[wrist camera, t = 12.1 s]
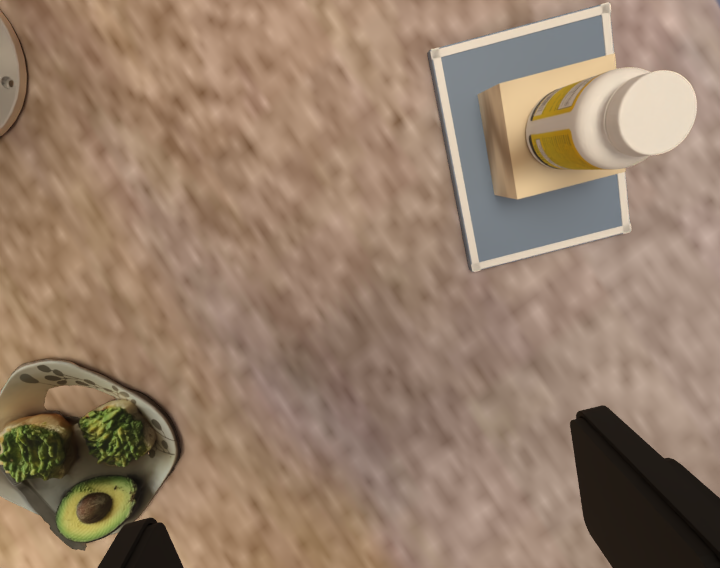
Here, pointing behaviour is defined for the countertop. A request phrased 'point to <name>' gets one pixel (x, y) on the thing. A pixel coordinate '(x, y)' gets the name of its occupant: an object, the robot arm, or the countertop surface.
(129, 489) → the salad plate
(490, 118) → the birch block
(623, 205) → the board
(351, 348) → the countertop surface
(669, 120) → the supplement bottle
